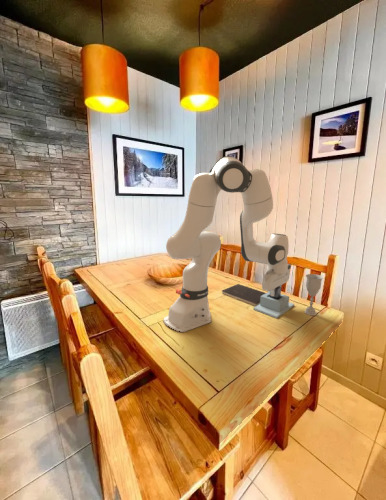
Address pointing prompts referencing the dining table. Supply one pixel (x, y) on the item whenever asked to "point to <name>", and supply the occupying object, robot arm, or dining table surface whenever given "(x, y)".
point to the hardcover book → (244, 294)
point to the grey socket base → (273, 305)
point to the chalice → (312, 290)
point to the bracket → (277, 294)
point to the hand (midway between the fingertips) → (275, 294)
